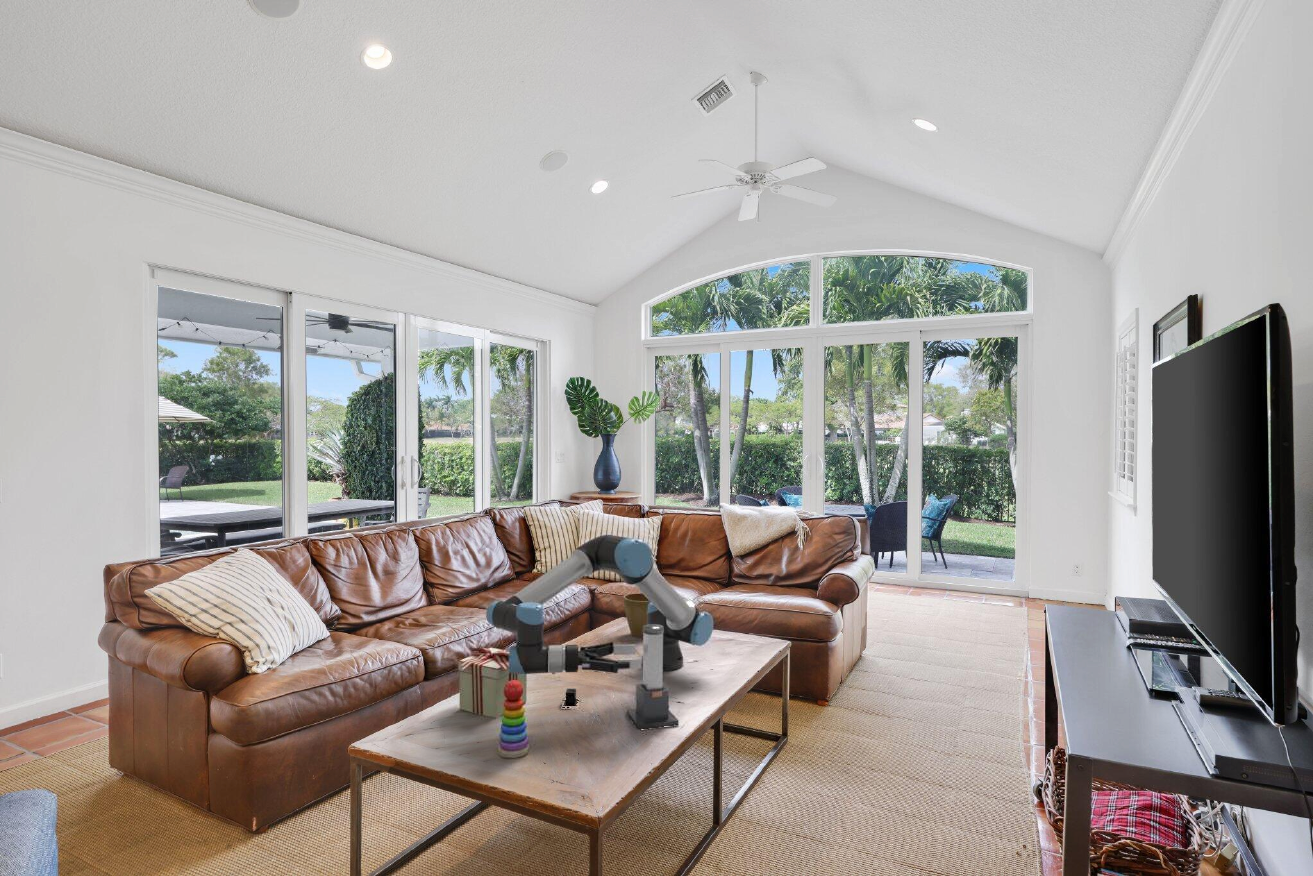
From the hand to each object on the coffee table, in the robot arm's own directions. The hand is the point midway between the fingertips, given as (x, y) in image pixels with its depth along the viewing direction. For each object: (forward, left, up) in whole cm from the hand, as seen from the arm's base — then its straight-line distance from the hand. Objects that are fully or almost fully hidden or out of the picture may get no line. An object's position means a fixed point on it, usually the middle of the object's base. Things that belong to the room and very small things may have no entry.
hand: (638, 656), depth 205 cm
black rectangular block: (+16, -19, -20) cm, 32 cm away
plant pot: (-28, -87, -19) cm, 93 cm away
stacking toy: (+37, +10, -19) cm, 43 cm away
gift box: (+39, -22, -19) cm, 49 cm away
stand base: (-4, 0, -19) cm, 19 cm away
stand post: (-4, 0, -17) cm, 18 cm away
